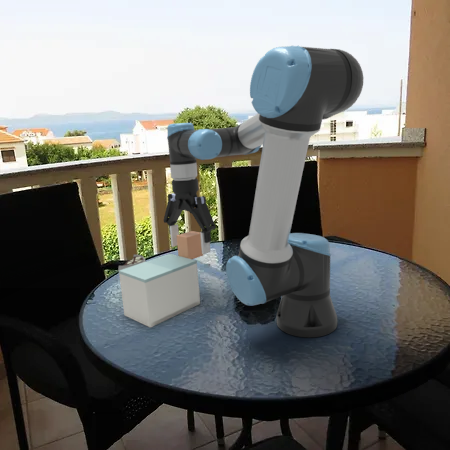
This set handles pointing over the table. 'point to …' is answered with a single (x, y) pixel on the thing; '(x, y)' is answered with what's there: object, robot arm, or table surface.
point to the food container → (133, 262)
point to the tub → (160, 296)
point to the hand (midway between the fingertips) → (190, 249)
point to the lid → (168, 259)
